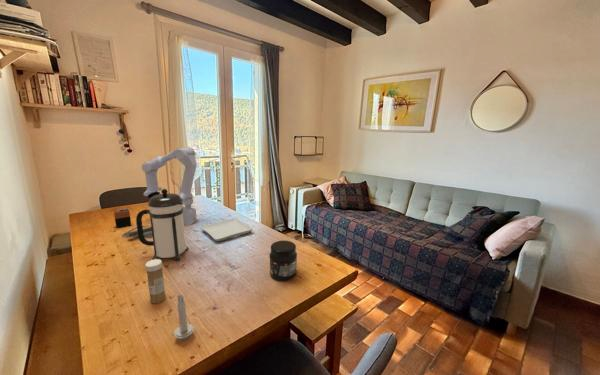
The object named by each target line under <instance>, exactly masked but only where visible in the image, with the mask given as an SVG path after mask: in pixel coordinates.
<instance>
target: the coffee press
mask: <svg viewBox="0 0 600 375" xmlns="http://www.w3.org/2000/svg"><path fill="white" fill-rule="evenodd" d="M160 191H161V192H160V194H159V195H155V196H153V197H152V198H150V199H148V201H147V206H148V207H149V209H142V210H141V211H139V212H138V213H137V214H136V218H135V219H136V220H135V222H136V227H137V231H138V237H139V238H138V237H137V238H138V239H139V241H140V242H141V243H142V244H143V245H145V246H153V252H154V254H153V257H152V259H151V260H154V259H159V260H160V258H161V259H168V258H174V259H175V261H176V262H179V261H180V260H181V256H180V255H181V254H183V253H184V252H185V251H188V250H189V247H188V245H187V244H186V236H185V226H184V223H183V208H185V205H184V203H183V202H182V199H181V197H180V196H179V195H178V194H176V193H168V190H167V189H166V188H162V190H160ZM148 214H149V217H150V218H149V219H150V226H151V228H152V236H153V237H152V240H147V239H146V238H144V234H143V227H142V226H143V219H142V218H143V216H144V215H148ZM156 256H157V257H156Z"/></svg>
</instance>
